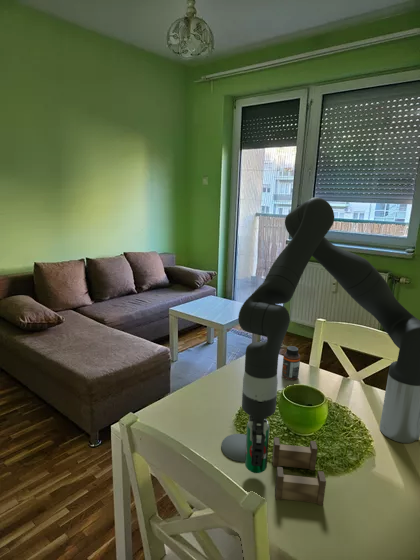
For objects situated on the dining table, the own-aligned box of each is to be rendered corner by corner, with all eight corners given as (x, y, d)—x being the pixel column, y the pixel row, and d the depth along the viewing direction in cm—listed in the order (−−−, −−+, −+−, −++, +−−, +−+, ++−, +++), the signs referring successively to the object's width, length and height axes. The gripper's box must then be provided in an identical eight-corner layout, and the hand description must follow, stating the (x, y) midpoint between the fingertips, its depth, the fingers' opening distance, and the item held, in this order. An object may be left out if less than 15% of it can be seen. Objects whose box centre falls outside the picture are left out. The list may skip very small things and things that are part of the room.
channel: (312, 462, 90) (315, 441, 88) (323, 505, 77) (326, 481, 76) (272, 458, 91) (274, 437, 89) (275, 499, 78) (278, 476, 77)
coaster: (259, 437, 98) (259, 435, 98) (260, 463, 89) (260, 461, 88) (222, 433, 99) (222, 432, 99) (219, 459, 90) (220, 457, 89)
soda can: (252, 456, 88) (254, 412, 85) (270, 465, 84) (273, 420, 82) (240, 467, 84) (242, 422, 81) (259, 478, 81) (262, 431, 78)
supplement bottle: (278, 373, 134) (281, 345, 131) (292, 372, 136) (295, 344, 133) (286, 381, 128) (289, 352, 126) (301, 379, 130) (304, 350, 127)
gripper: (242, 373, 87) (240, 434, 91) (242, 406, 73) (238, 478, 77) (274, 375, 86) (270, 437, 90) (279, 409, 72) (274, 481, 76)
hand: (255, 455), depth 83 cm, fingers closed on soda can, 5 cm apart
